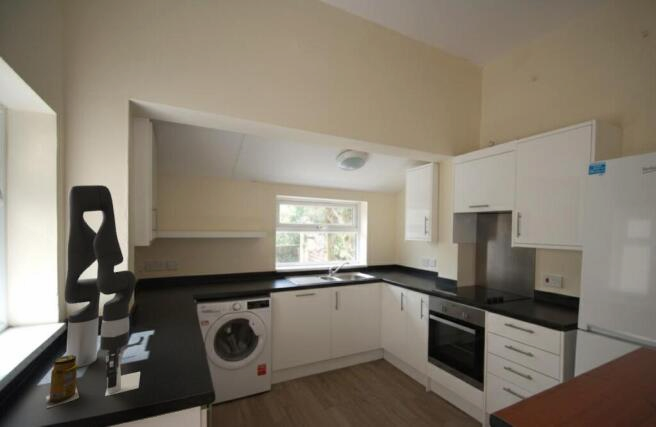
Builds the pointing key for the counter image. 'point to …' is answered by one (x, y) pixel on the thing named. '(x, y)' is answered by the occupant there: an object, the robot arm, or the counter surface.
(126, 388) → the paper
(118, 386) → the white bottle
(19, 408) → the counter surface
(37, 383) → the counter surface
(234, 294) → the counter surface
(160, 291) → the counter surface
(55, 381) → the condiment
